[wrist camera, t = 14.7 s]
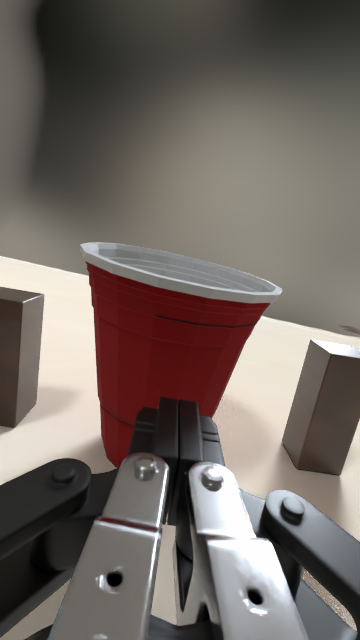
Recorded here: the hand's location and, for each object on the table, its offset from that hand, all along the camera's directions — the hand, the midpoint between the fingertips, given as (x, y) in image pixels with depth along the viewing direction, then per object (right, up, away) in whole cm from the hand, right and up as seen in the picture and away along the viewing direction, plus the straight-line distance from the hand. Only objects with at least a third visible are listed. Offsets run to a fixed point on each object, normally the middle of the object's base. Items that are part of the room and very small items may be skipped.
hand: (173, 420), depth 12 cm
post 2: (+9, -6, +9) cm, 14 cm away
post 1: (-11, -2, +8) cm, 14 cm away
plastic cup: (-2, -4, +7) cm, 9 cm away
